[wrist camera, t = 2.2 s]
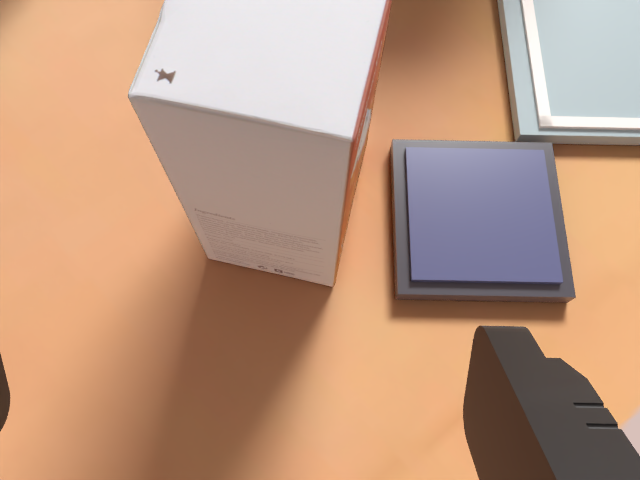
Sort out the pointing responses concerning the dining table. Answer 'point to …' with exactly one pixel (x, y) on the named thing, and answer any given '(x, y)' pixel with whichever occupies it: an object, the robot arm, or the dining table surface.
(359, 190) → the dining table surface
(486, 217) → the ink pad
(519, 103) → the board
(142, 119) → the small box
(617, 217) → the dining table surface
